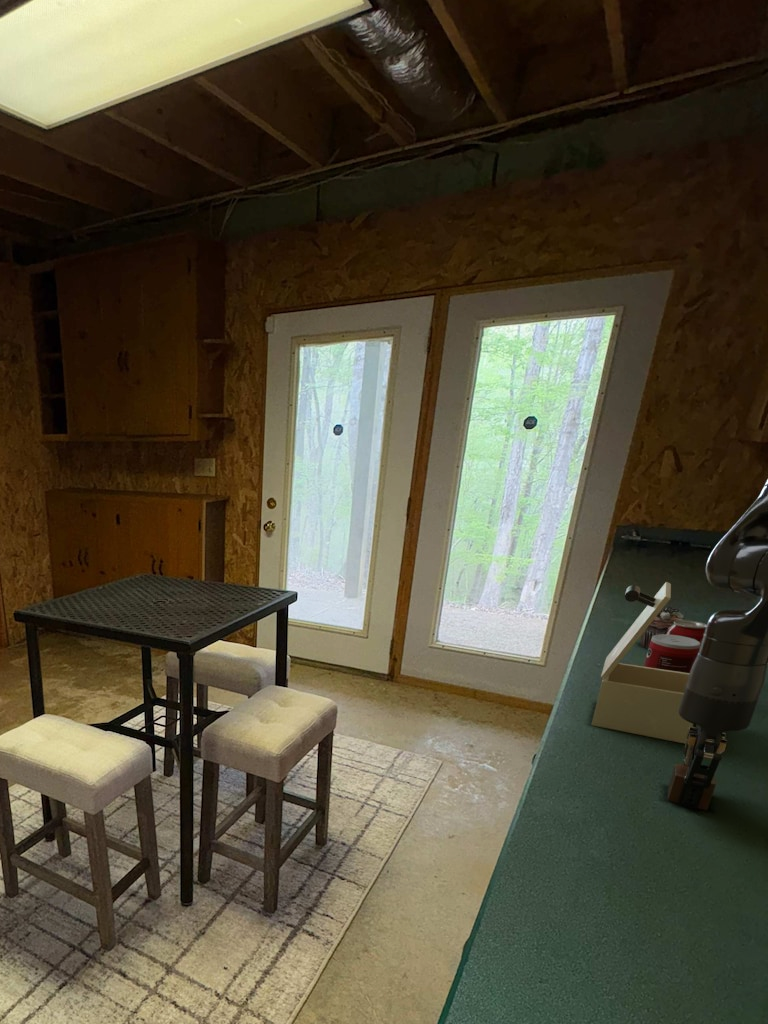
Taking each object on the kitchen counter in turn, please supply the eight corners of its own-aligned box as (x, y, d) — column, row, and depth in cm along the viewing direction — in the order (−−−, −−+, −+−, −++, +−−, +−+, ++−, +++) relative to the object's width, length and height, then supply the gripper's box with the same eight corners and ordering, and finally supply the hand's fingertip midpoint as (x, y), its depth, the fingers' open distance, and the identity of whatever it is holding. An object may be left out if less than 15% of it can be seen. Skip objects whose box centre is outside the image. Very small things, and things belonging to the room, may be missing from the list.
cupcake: (663, 656, 146) (675, 615, 143) (626, 644, 155) (636, 605, 152) (695, 652, 148) (708, 611, 145) (657, 640, 157) (667, 601, 154)
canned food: (660, 682, 131) (674, 632, 127) (695, 696, 124) (712, 644, 120) (628, 686, 130) (641, 635, 126) (662, 700, 123) (677, 647, 119)
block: (667, 789, 93) (675, 763, 91) (705, 797, 90) (714, 771, 89) (667, 802, 90) (675, 775, 88) (706, 811, 87) (715, 784, 86)
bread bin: (698, 721, 114) (712, 676, 110) (701, 747, 104) (716, 699, 101) (597, 703, 123) (607, 661, 119) (591, 726, 113) (602, 681, 110)
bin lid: (671, 583, 110) (638, 570, 112) (670, 598, 101) (635, 583, 103) (610, 660, 119) (581, 646, 121) (605, 680, 110) (574, 664, 112)
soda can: (700, 684, 130) (717, 629, 126) (661, 681, 132) (676, 626, 128) (688, 673, 136) (704, 620, 131) (651, 670, 138) (665, 618, 134)
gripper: (765, 713, 76) (723, 830, 83) (754, 678, 87) (718, 785, 93) (687, 700, 81) (653, 813, 87) (686, 668, 91) (655, 771, 97)
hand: (687, 797), depth 90 cm, fingers closed on block, 4 cm apart
